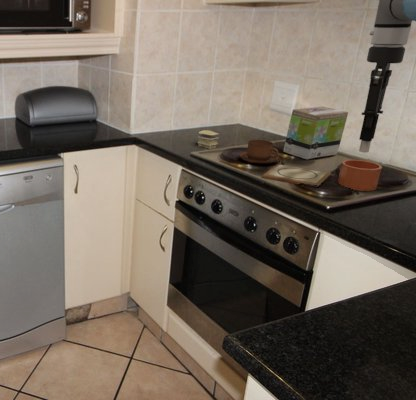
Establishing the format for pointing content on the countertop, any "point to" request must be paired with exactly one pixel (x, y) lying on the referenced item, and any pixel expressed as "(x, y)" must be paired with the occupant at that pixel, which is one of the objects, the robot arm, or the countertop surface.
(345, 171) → the pen cup
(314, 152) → the tea box
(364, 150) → the marker
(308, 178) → the tan flat square slab
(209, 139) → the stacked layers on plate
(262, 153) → the cup and saucer
